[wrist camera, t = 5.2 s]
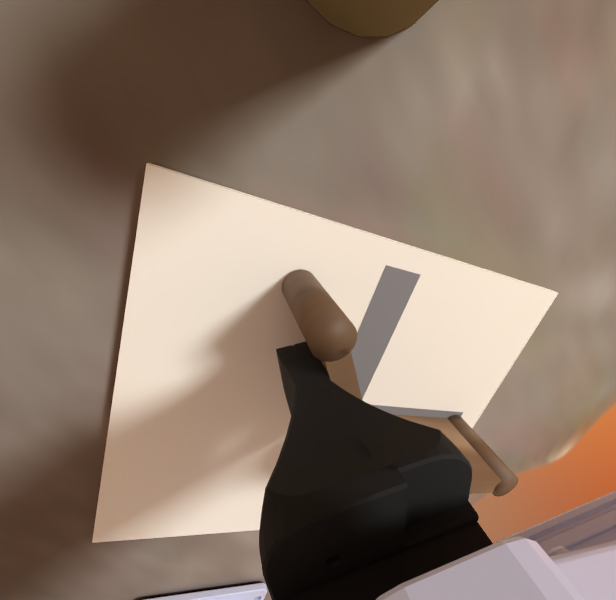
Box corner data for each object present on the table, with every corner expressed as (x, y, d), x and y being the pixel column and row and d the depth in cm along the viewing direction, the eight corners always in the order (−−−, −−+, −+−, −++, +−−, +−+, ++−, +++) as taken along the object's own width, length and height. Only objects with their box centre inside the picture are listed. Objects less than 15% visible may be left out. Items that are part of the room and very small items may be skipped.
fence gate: (320, 406, 15) (352, 483, 12) (276, 276, 12) (303, 329, 8) (347, 396, 15) (386, 468, 12) (311, 264, 12) (352, 311, 9)
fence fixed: (452, 435, 19) (514, 508, 15) (316, 429, 16) (350, 520, 12) (467, 412, 19) (534, 482, 15) (328, 401, 15) (367, 487, 11)
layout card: (411, 510, 23) (415, 518, 22) (95, 531, 16) (91, 543, 15) (549, 289, 17) (558, 293, 16) (149, 162, 10) (146, 163, 9)
